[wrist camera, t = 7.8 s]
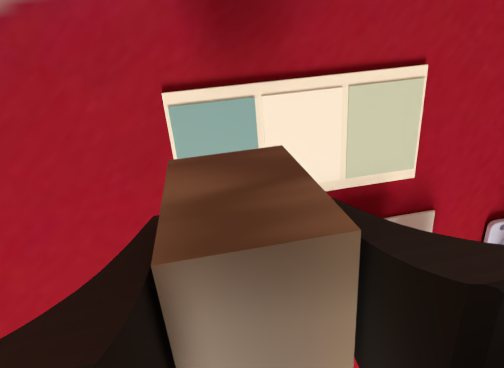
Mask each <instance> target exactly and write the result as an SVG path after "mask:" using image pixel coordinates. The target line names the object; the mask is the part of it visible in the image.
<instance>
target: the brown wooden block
mask: <svg viewBox="0 0 504 368" xmlns="http://www.w3.org/2000/svg"><path fill="white" fill-rule="evenodd" d="M360 242H361V229H360V228H359V227H358V226H357V225H356V224H355V223H354V222H353V221H352V220H351V219H350V218H349V216H348V215H347V214H346V213H345V212H344V211H343V210H342V209H341V208H340V207H339V206H338V205H337V204H336V203H335V201H334V200H333V199H332V198H331V197H330V196H329V195H328V194H327V193H326V192H325V191H324V190H323V189H322V187H321V186H320V185H319V184H318V183H317V182H316V181H315V180H314V179H313V178H312V177H311V176H310V175H309V174H308V172H307V171H306V170H305V169H304V168H303V167H302V166H301V165H300V164H299V163H298V162H297V161H296V160H295V158H294V157H293V156H292V155H291V154H290V153H289V152H288V151H287V150H286V149H285V148H284V147H283V146H282V145H280V146H273V147H265V148H258V149H250V150H242V151H235V152H227V153H220V154H212V155H205V156H197V157H190V158H182V159H174V160H169V162H168V168H167V174H166V180H165V186H164V191H163V197H162V203H161V209H160V215H159V221H158V227H157V233H156V238H155V244H154V250H153V256H152V262H151V269H152V273H153V277H154V281H155V285H156V289H157V293H158V297H159V301H160V305H161V309H162V313H163V317H164V321H165V325H166V329H167V333H168V337H169V341H170V345H171V349H172V354H173V358H174V362H175V366H176V368H353V366H354V348H355V330H356V313H357V295H358V277H359V260H360Z"/></svg>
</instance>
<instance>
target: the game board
mask: <svg viewBox="0 0 504 368" xmlns="http://www.w3.org/2000/svg"><path fill="white" fill-rule="evenodd" d="M427 71H428V65H415V66H406V67H397V68H387V69H378V70H369V71H359V72H350V73H341V74H331V75H322V76H313V77H304V78H294V79H285V80H276V81H266V82H257V83H248V84H238V85H229V86H220V87H210V88H201V89H192V90H182V91H173V92H164V93H162V99H163V104H164V109H165V115H166V120H167V125H168V131H169V136H170V141H171V147H172V152H173V158H174V159H182V158H190V157H197V156H205V155H212V154H220V153H227V152H235V151H242V150H250V149H258V148H265V147H273V146H280V145H282V146H283V147H284V148H285V149H286V150H287V151H288V152H289V153H290V154H291V155H292V156H293V157H294V158H295V160H296V161H297V162H298V163H299V164H300V165H301V166H302V167H303V168H304V169H305V170H306V171H307V172H308V174H309V175H310V176H311V177H312V178H313V179H314V180H315V181H316V182H317V183H318V184H319V185H320V186H321V187H322V189H323V190H324V191H330V190H337V189H343V188H350V187H356V186H363V185H369V184H376V183H382V182H389V181H395V180H402V179H408V178H414V177H415V169H416V161H417V153H418V145H419V136H420V128H421V120H422V112H423V104H424V95H425V87H426V79H427Z"/></svg>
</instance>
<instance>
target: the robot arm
mask: <svg viewBox="0 0 504 368" xmlns="http://www.w3.org/2000/svg"><path fill="white" fill-rule="evenodd" d="M332 199H333V200H334V201H335V203H336V204H337V205H338V206H339V207H340V208H341V209H342V210H343V211H344V212H345V213H346V214H347V215H348V216H349V218H350V219H351V220H352V221H353V222H354V223H355V224H356V225H357V226H358V227H359V228H360V229H361V242H360V260H359V277H358V295H357V313H356V330H355V348H354V357H355V359H356V361H357V364H358V366H359V368H504V219H498V220H493V221H491V222H490V223H489V224H488V226H487V229H486V234H485V238H484V242H479V241H473V240H466V239H461V238H456V237H451V236H445V235H440V234H436V233H431V232H427V231H423V230H419V229H416V228H412V227H408V226H405V225H401V224H398V223H395V222H392V221H389V220H386V219H383V218H380V217H378V216H375V215H372V214H370V213H367V212H364V211H362V210H360V209H357V208H355V207H352V206H350V205H348V204H345V203H343V202H341V201H338V200H336V199H334V198H332ZM158 221H159V215H158V216H153V217H152V218H151V219H150V220H149V222H148V223H147V224H146V225H145V226H144V227H143V228H142V230H141V231H140V232H139V233H138V234H137V235H136V236H135V237H134V239H133V240H132V241H131V242H130V243H129V244H128V245H127V246H126V247H125V248H124V249H123V250H122V251H121V252H120V253H119V254H118V255H117V256H116V257H115V258H114V259H113V260H112V261H111V262H110V263H109V264H108V265H107V266H106V267H105V268H104V269H102V270H101V271H100V272H99V273H98V274H97V275H95V276H94V277H93V278H92V279H91V280H89V281H88V282H87V283H86V284H84V285H83V286H82V287H80V288H79V289H78V290H77V291H75V292H74V293H73V294H71V295H70V296H68V297H67V298H65V299H64V300H62V301H61V302H59V303H58V304H56V305H55V306H54V307H52V308H51V309H49V310H48V311H46V312H45V313H43V314H42V315H40V316H39V317H37V318H35V319H34V320H32V321H30V322H29V323H27V324H25V325H24V326H22V327H20V328H19V329H17V330H15V331H14V332H12V333H10V334H8V335H6V336H5V337H3V338H1V339H0V368H176V366H175V362H174V358H173V354H172V349H171V345H170V341H169V337H168V333H167V329H166V325H165V321H164V317H163V313H162V309H161V305H160V301H159V297H158V293H157V289H156V285H155V281H154V277H153V273H152V269H151V262H152V256H153V250H154V244H155V238H156V233H157V227H158Z"/></svg>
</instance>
